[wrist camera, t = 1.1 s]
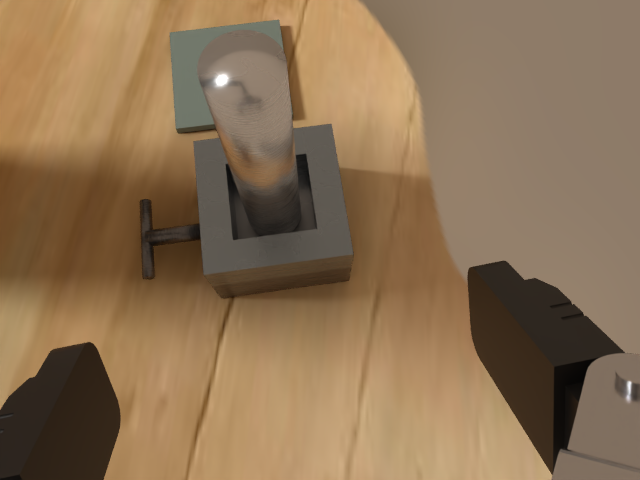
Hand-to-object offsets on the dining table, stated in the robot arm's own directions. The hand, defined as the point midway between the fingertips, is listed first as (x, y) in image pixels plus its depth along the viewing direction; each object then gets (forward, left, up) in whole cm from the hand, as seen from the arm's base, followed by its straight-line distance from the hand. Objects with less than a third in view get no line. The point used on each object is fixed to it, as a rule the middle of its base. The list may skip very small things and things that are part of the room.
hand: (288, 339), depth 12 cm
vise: (-3, +11, -22) cm, 24 cm away
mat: (-3, +23, -22) cm, 32 cm away
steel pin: (-1, +11, -19) cm, 22 cm away
